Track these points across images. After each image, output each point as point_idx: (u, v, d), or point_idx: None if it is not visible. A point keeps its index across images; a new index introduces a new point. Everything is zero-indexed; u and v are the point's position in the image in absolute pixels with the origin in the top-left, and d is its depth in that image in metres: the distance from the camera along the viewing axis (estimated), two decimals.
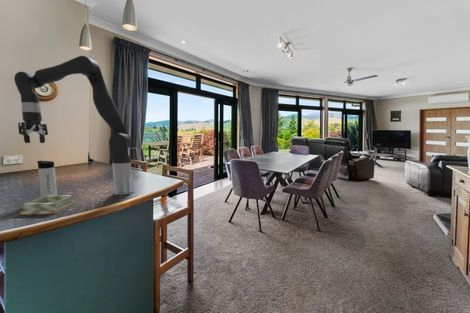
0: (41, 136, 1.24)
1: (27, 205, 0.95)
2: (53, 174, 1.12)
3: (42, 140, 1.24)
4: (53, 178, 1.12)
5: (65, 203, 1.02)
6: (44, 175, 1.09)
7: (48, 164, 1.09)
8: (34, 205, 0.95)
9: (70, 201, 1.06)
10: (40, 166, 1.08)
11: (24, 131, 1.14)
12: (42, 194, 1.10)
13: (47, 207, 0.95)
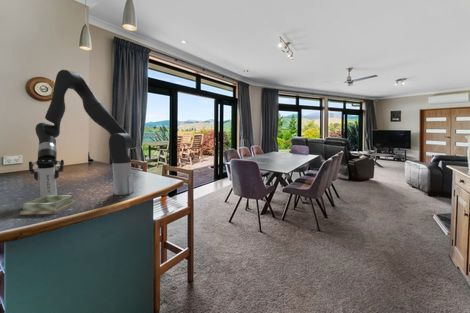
0: None
1: (27, 205, 0.95)
2: (53, 174, 1.12)
3: (55, 175, 1.13)
4: (53, 178, 1.12)
5: (65, 203, 1.02)
6: (44, 175, 1.09)
7: (48, 164, 1.09)
8: (34, 205, 0.95)
9: (70, 201, 1.06)
10: (40, 166, 1.08)
11: (30, 169, 1.09)
12: (42, 194, 1.10)
13: (47, 207, 0.95)
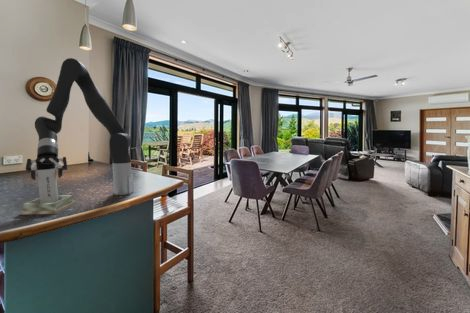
0: None
1: (27, 205, 0.95)
2: (54, 176, 1.00)
3: (58, 173, 1.02)
4: (54, 180, 1.00)
5: (65, 203, 1.02)
6: (44, 178, 0.97)
7: (48, 165, 0.98)
8: (34, 205, 0.95)
9: (70, 201, 1.06)
10: (39, 167, 0.97)
11: (27, 167, 0.98)
12: (42, 198, 0.98)
13: (47, 207, 0.95)
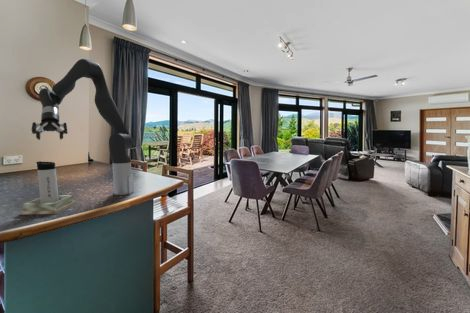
0: None
1: (27, 205, 0.95)
2: (54, 176, 1.00)
3: None
4: (54, 181, 1.00)
5: (65, 203, 1.02)
6: (44, 178, 0.97)
7: (48, 165, 0.98)
8: (34, 205, 0.95)
9: (70, 201, 1.06)
10: (40, 167, 0.97)
11: (33, 128, 1.13)
12: (42, 199, 0.98)
13: (47, 207, 0.95)
